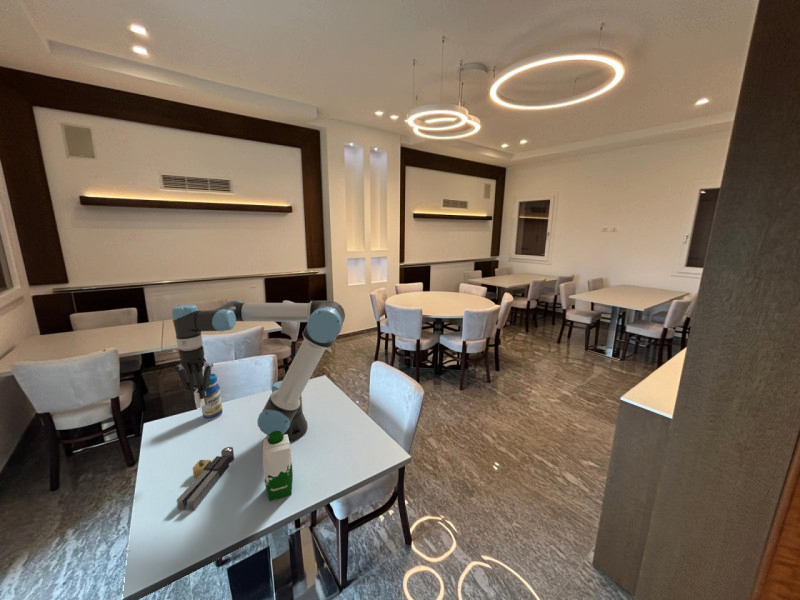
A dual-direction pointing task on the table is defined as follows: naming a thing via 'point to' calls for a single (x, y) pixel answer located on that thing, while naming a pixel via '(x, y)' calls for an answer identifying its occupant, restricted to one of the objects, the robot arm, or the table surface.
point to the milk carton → (277, 465)
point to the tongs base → (211, 478)
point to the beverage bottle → (212, 400)
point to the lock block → (200, 467)
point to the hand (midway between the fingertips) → (200, 406)
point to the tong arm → (196, 484)
